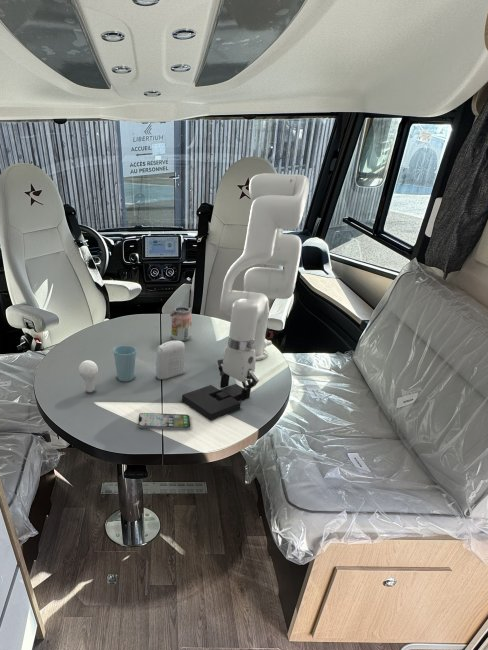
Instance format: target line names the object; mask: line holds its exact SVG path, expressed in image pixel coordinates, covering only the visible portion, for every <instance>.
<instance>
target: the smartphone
mask: <svg viewBox="0 0 488 650" xmlns="http://www.w3.org/2000/svg"><path fill="white" fill-rule="evenodd" d="M190 418H191V417H190V415H189V414H183V413H181V414H180V413H160V412H159V413H157V412H156V413H155V412H140V413H139V415H138V428H139V429H149V430H174V431H175V430H176V431H189V430H190V429H191V421H190V420H191V419H190Z"/></svg>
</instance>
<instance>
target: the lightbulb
mask: <svg viewBox="0 0 488 650" xmlns="http://www.w3.org/2000/svg"><path fill="white" fill-rule="evenodd" d="M78 373H79V376H80V377H81V378H82V380H83V383H84V386H85V391H86V392H88V393H92V392H94V391H95V382H96V381H95V380H96V378H97V376H98V374H99V367H98V365H97V363H96V362H94V361H93V360H89V359H87V360H84V361H82V362H81V363H80V364H79V366H78Z"/></svg>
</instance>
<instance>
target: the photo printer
mask: <svg viewBox="0 0 488 650" xmlns="http://www.w3.org/2000/svg"><path fill="white" fill-rule="evenodd" d="M185 349H186V347H185V343H184V341H175V340H170V341H166V342H164V343H162V344H160V345H159V346H157V348H156V365H155V366H156V368H155V369H156V372H155V375H156V378H157V379H158V380H166V379H170V378H173V377H177V376H180V375H183V374H184V368H185V367H184V366H185V351H186V350H185Z"/></svg>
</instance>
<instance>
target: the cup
mask: <svg viewBox="0 0 488 650" xmlns="http://www.w3.org/2000/svg"><path fill="white" fill-rule="evenodd" d="M113 357H114V363H115V369H116V375H117V379H118V380H119V381H121V382H130V381H132V380H134V378H135V369H136V357H137V348H136V347H134V346H133V345H126V344H125V345H118V346H115V347H114V348H113Z"/></svg>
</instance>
